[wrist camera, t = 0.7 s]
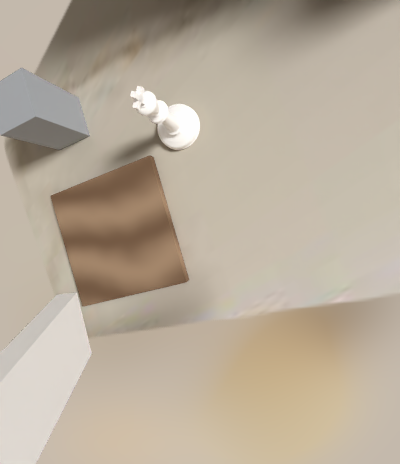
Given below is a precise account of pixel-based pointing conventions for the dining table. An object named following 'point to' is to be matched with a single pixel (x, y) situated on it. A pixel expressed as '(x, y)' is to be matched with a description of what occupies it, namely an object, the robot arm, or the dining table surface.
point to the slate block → (40, 112)
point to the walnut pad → (120, 234)
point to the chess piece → (168, 119)
